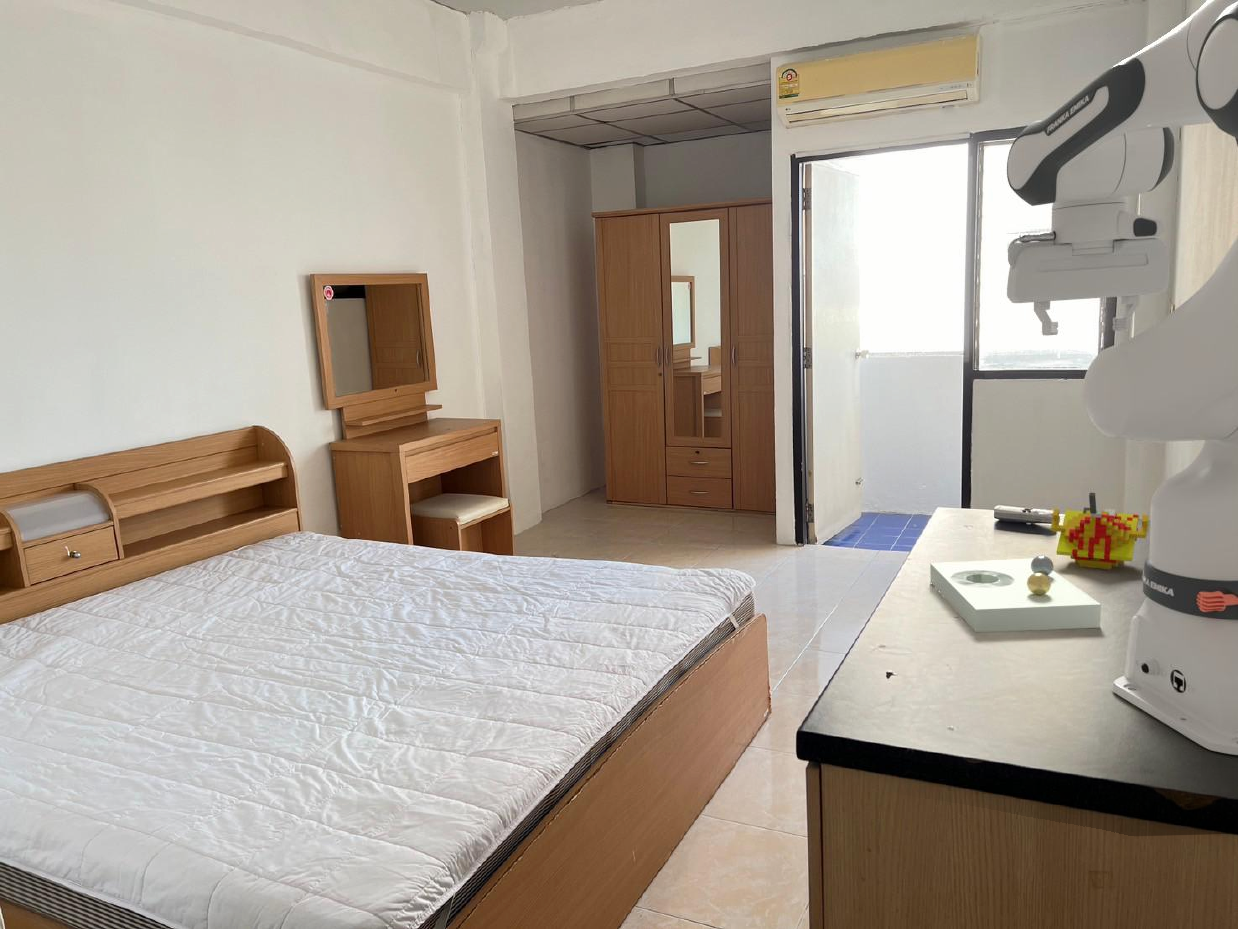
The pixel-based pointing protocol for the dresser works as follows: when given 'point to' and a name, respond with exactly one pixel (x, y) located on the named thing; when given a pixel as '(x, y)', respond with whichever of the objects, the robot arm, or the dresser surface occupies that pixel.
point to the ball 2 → (1039, 583)
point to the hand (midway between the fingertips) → (1085, 332)
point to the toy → (1098, 535)
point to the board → (1012, 597)
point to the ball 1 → (1042, 565)
